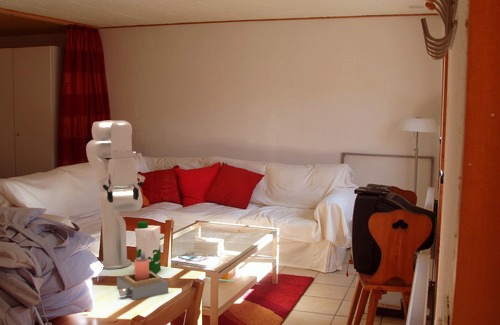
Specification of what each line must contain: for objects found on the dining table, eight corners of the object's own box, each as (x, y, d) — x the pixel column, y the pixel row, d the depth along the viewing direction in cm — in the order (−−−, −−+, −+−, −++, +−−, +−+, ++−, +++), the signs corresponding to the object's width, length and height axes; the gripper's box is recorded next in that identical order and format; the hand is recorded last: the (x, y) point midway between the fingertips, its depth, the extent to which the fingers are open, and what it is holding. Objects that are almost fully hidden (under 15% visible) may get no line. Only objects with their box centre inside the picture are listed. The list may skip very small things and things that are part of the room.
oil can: (133, 286, 196) (132, 251, 195) (146, 284, 199) (145, 249, 198) (138, 290, 192) (137, 254, 191) (151, 287, 195) (150, 252, 194)
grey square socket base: (109, 289, 197) (108, 275, 197) (150, 281, 206) (150, 268, 205) (124, 301, 184) (123, 287, 183) (168, 292, 192) (167, 279, 192)
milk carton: (142, 268, 223) (141, 219, 221) (163, 269, 221) (162, 220, 219) (134, 274, 214) (132, 224, 212) (155, 275, 213) (154, 225, 211)
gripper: (140, 153, 212) (141, 197, 213) (95, 155, 202) (97, 201, 204) (147, 154, 205) (148, 199, 207) (101, 157, 196) (103, 204, 198)
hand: (123, 200), depth 206 cm, fingers open, 9 cm apart
